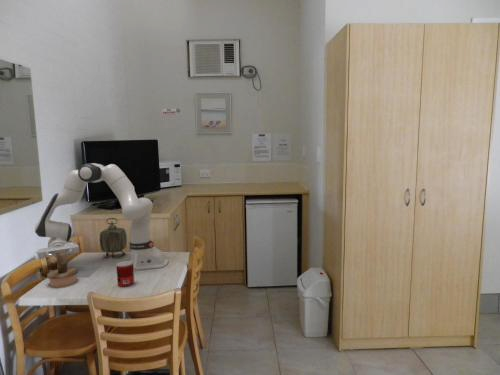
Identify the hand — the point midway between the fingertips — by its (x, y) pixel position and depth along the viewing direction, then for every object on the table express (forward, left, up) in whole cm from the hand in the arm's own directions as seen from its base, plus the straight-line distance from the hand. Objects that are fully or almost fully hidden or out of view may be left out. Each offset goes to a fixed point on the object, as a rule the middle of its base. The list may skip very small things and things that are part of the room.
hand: (59, 254), depth 191 cm
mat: (-6, -8, -13) cm, 16 cm away
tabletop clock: (-15, -37, -13) cm, 42 cm away
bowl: (-4, +7, -13) cm, 16 cm away
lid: (-4, +7, -8) cm, 12 cm away
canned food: (-37, +11, -13) cm, 41 cm away
